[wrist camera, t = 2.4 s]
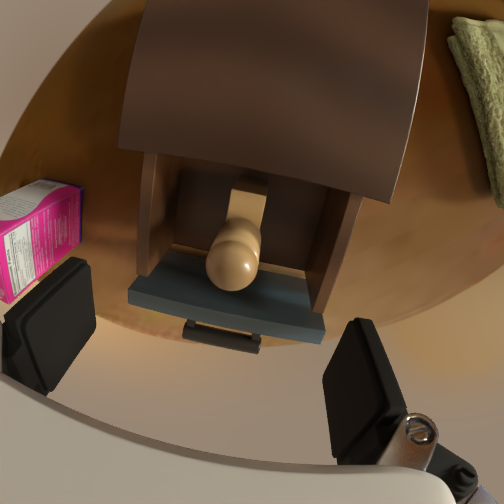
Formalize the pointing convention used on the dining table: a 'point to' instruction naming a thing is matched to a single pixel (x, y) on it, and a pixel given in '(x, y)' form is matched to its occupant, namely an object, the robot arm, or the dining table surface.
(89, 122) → the dining table surface
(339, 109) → the cabinet
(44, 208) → the supplement box
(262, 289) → the drawer
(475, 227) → the dining table surface
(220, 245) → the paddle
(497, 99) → the washcloth
